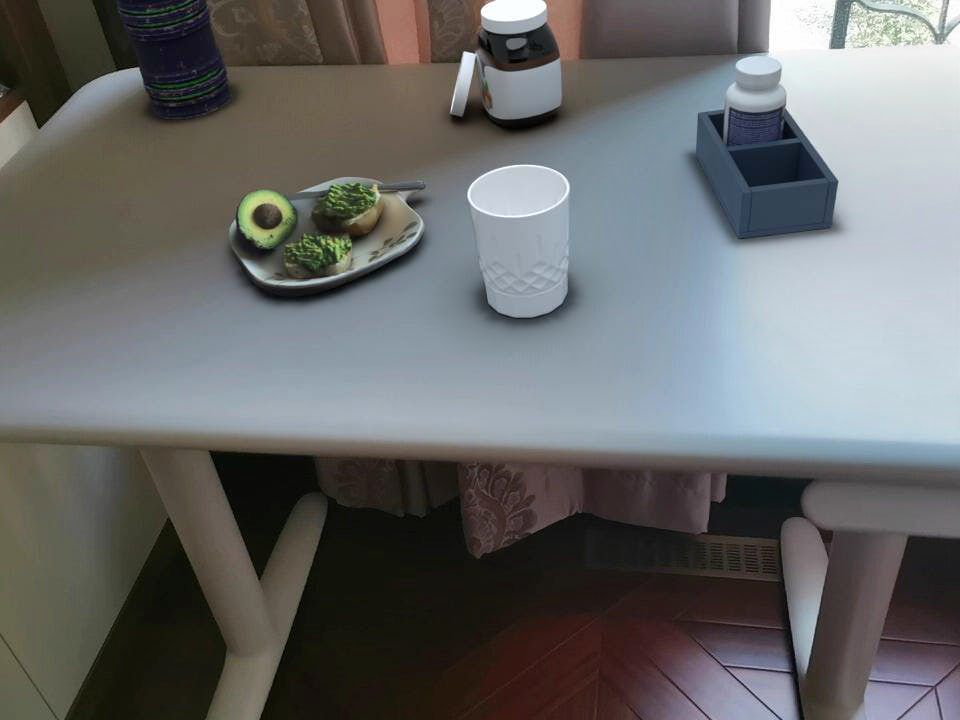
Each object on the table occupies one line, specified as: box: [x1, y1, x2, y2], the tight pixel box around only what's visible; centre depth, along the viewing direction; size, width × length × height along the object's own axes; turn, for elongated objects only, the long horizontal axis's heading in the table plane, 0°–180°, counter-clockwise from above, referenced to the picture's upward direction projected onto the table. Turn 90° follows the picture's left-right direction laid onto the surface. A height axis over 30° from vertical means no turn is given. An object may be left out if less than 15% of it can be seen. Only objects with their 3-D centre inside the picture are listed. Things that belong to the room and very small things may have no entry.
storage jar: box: [115, 0, 233, 120], centre depth 111 cm, size 10×10×18 cm
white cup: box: [466, 164, 571, 318], centre depth 77 cm, size 8×8×10 cm
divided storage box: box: [695, 108, 840, 240], centre depth 87 cm, size 8×15×5 cm, turn 4°
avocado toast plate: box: [228, 176, 426, 298], centre depth 89 cm, size 19×18×5 cm
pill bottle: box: [722, 55, 788, 147], centre depth 88 cm, size 5×5×10 cm
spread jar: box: [450, 0, 563, 128], centre depth 102 cm, size 12×11×12 cm
